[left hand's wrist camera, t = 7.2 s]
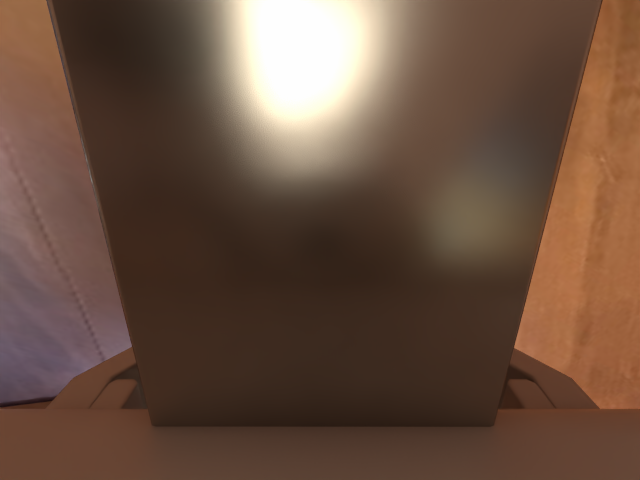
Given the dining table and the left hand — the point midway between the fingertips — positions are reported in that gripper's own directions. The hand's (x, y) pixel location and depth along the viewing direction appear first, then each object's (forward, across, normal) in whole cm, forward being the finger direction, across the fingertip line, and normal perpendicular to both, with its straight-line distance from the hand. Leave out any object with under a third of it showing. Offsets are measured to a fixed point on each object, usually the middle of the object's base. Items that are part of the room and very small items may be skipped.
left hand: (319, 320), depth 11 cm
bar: (+3, 0, -9) cm, 10 cm away
